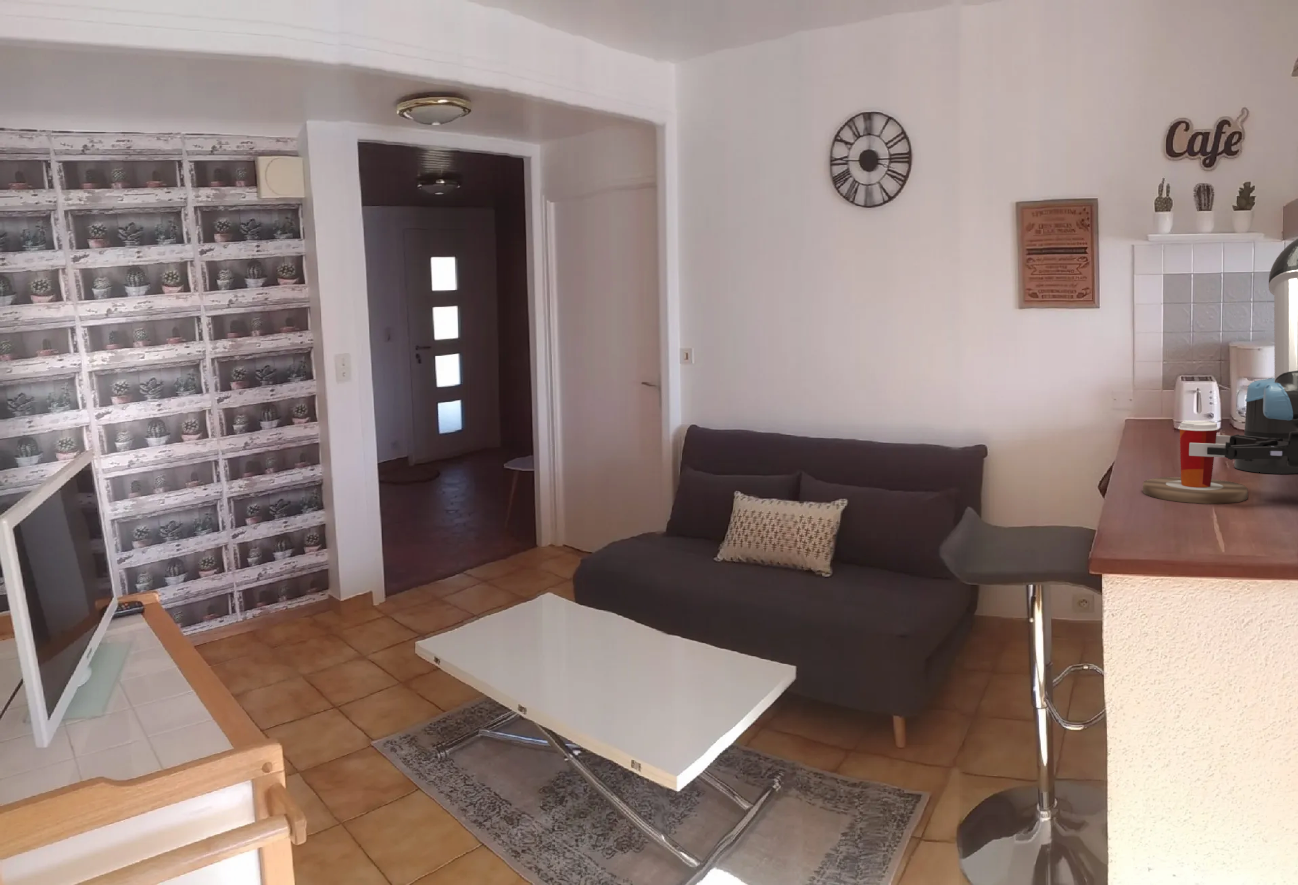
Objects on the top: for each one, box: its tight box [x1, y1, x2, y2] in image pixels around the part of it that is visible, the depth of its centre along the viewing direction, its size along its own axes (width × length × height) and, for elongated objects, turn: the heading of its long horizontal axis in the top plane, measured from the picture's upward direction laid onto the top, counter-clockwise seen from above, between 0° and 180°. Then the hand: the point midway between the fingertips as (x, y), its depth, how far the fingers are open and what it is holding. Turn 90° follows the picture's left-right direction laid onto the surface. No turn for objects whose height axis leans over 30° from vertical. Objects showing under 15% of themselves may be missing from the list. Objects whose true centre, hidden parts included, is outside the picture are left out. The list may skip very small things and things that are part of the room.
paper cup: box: [1177, 420, 1220, 488], centre depth 202 cm, size 8×8×14 cm
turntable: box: [1142, 476, 1249, 505], centre depth 203 cm, size 20×20×2 cm
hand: (1192, 444), depth 202 cm, fingers open, 13 cm apart
